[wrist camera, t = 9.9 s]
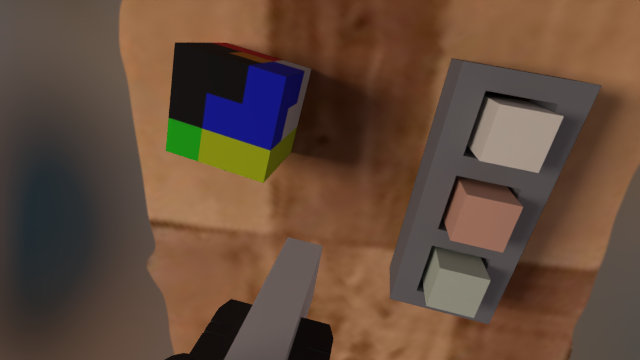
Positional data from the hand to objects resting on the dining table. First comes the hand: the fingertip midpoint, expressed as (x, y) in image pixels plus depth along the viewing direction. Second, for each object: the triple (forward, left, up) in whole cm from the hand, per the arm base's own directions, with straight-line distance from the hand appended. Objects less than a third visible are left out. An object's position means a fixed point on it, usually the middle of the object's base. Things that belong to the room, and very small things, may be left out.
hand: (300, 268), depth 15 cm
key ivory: (-4, +14, -25) cm, 29 cm away
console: (+4, +14, -26) cm, 30 cm away
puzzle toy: (-1, -12, -27) cm, 29 cm away
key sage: (+12, +13, -25) cm, 31 cm away
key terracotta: (+4, +14, -25) cm, 29 cm away
